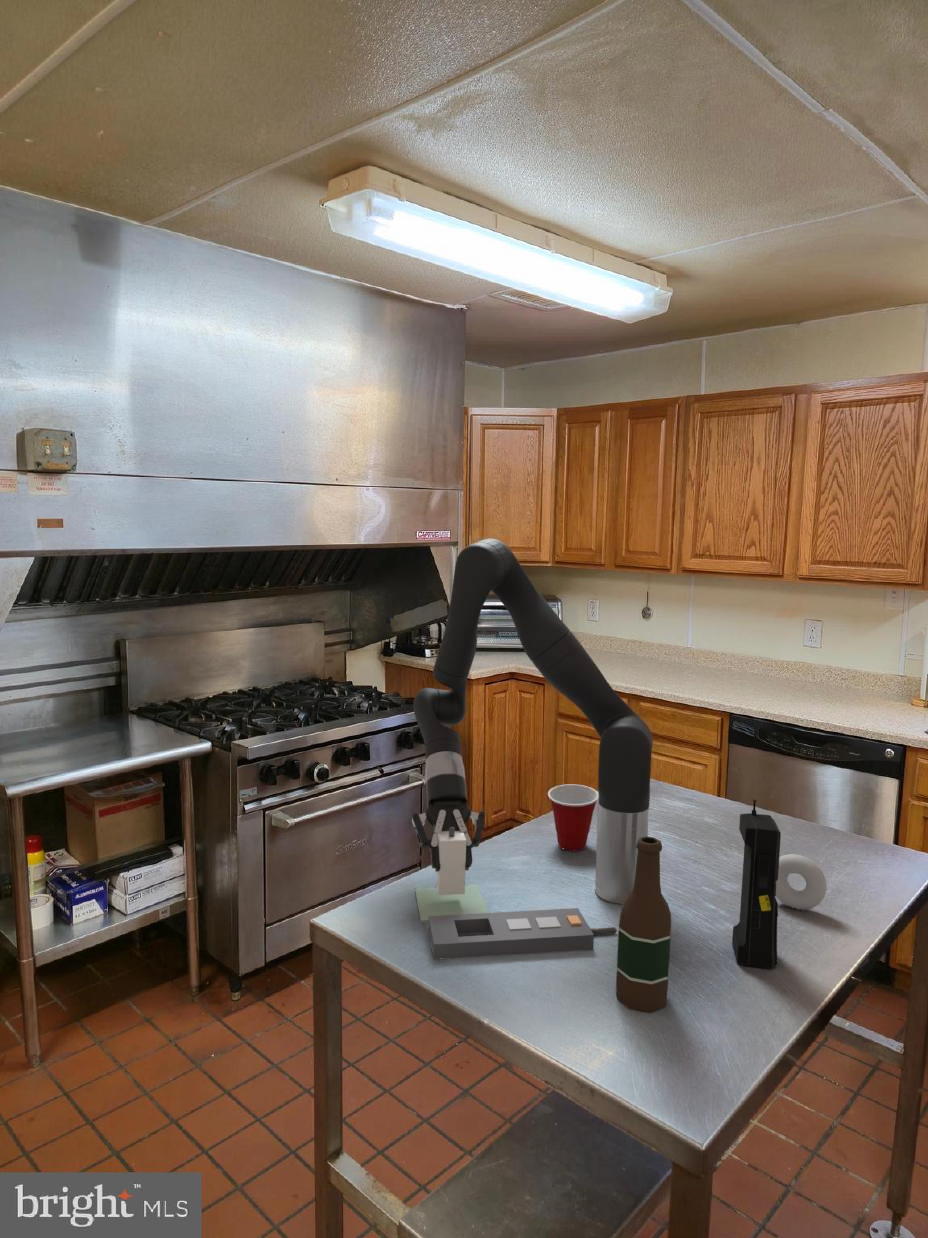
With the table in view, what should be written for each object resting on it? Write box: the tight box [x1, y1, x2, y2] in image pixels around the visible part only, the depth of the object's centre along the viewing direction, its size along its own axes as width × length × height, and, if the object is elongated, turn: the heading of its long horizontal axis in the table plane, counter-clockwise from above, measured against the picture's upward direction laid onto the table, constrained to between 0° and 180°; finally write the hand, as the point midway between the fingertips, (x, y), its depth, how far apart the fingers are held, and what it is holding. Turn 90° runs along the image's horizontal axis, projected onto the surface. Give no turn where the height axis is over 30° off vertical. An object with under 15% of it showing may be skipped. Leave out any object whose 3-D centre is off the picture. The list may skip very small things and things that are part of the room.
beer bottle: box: [615, 836, 672, 1013], centre depth 114 cm, size 8×8×24 cm
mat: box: [414, 885, 489, 924], centre depth 142 cm, size 12×12×1 cm
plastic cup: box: [547, 783, 599, 852], centre depth 168 cm, size 11×11×12 cm
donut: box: [775, 853, 828, 911], centre depth 143 cm, size 10×4×10 cm, turn 54°
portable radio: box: [731, 799, 782, 970], centre depth 125 cm, size 8×6×25 cm
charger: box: [435, 827, 466, 895], centre depth 141 cm, size 5×4×12 cm
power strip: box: [427, 907, 618, 960], centre depth 131 cm, size 32×9×3 cm, turn 98°
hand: (452, 869), depth 139 cm, fingers closed on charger, 4 cm apart
